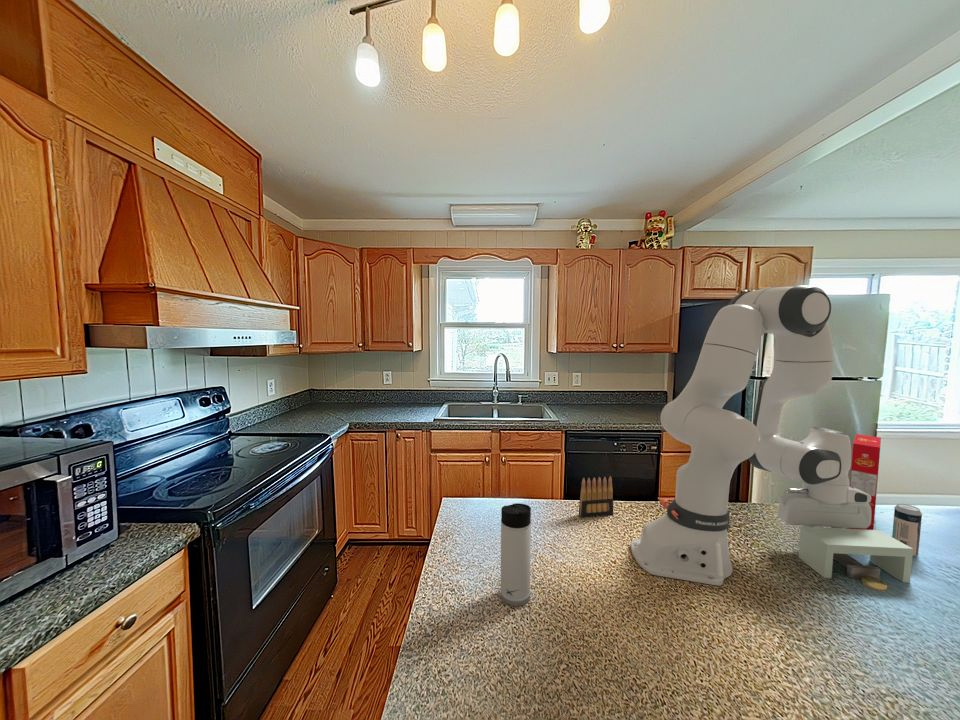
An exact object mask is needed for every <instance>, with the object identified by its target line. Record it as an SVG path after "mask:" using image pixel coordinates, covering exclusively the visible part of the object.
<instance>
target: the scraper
mask: <svg viewBox="0 0 960 720" xmlns="http://www.w3.org/2000/svg"><path fill="white" fill-rule="evenodd" d="M815 527H820V528H826V527H823V526H815ZM833 560H835V561H836V562H837V563H839V564H841V565H842V566H843V567H844V568H846V573H845V574H846V576H847V577H849V578H850V579H857V580H861V577H862V576H871V577H875V578H877V579H880V578H881V568H880V567H878V566H877V565H864V564H862V563H861V562H860V561H858V560H856V559H855V558H853V557H852V556H850V554H839V553H833ZM880 580H881V579H880Z"/></svg>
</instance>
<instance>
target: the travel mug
mask: <svg viewBox="0 0 960 720" xmlns="http://www.w3.org/2000/svg"><path fill="white" fill-rule="evenodd" d="M500 510H501V518H500V519H501V521H500V598H501V600H502V601H503V603H505V604H506V605H509V606H512V607H519V606H520V607H521V606H524V605H525V604H528V602H529V601H530V598H531V553H532V552H531V545H532V543H531V542H532V538H531V537H532V536H531V535H532V521H531V519H532V513H531V512H532V508H531V507H530V505H528V504H525V503H517V502H515V503H512V504H509V505H504V506H502V507H501V509H500Z"/></svg>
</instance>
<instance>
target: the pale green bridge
mask: <svg viewBox="0 0 960 720" xmlns="http://www.w3.org/2000/svg"><path fill="white" fill-rule="evenodd" d="M799 529H800V530H799V545H798V558H799V559H800V560H801V561H802V562H804V563H805V564H806V565H808V566H809V567H810V568H812V569H813V571H815V572H817V573H818V574H819V575H820V576H821V577H823V578H824V579H825V578H826V579H832V576H833V575H832V574H833V564H834V559H833V553H839V554H847V555H862V556H863V555H864V556H869V562H871V563H872V564H874V566H876V567H877V568H879V569H880V570H881V569H882V570H883V571H885V572H886V573H888V574H889V575H891V576H893V577H894V578H895V579H897V580H898V581H901V582H902V583H908V584H909V583H911V575H912V565H913V557H914V556H913V548H911V547H909V546H907V545H905V544H904V543H902V542H900V541H898V540H896V539H894V538H892V536H890V535H888V534H887V533H885V532H882V531H881V530H879V529H873V530H863V529H849V528H843V527H842V528H832V527H825V528H820V527H803V526H800V527H799Z"/></svg>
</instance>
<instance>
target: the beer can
mask: <svg viewBox="0 0 960 720" xmlns="http://www.w3.org/2000/svg"><path fill="white" fill-rule="evenodd" d="M893 511H894V513H893V521H892V522H893V523H892V536H891V537H892V538H894V539H896V540H898V541H900V542H902V543H904V544H905V545H907V546H909V547H911V548H913V557H917V556H919V554H920V553H919V552H920V551H919V549H920V538H921V528H922V527H921V526H922V517H923V513H922V511H921V510H920V508H918V507H916V506H914V505H910V504H905V503H897V504H896V505H895V506H894V510H893Z"/></svg>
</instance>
